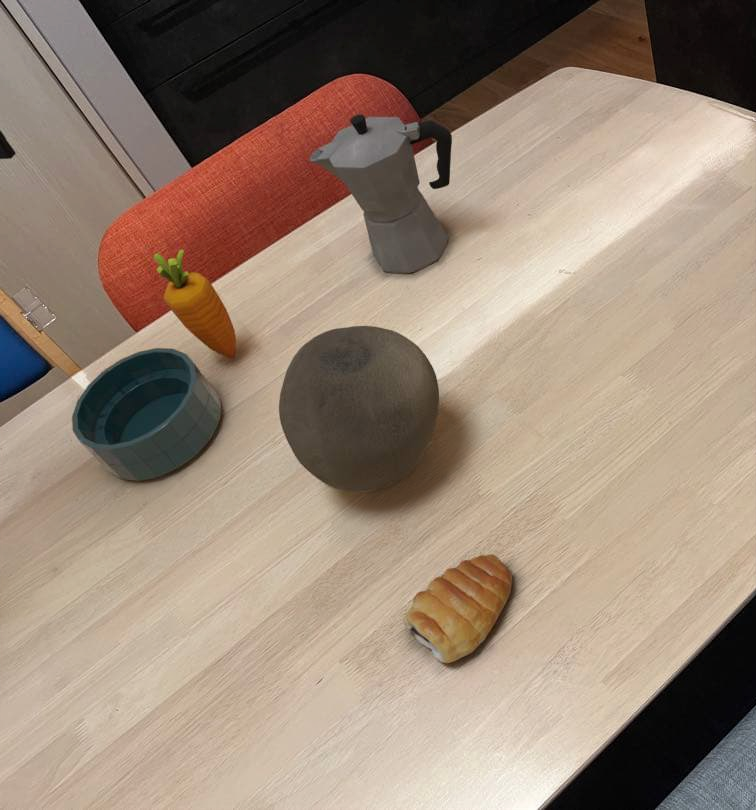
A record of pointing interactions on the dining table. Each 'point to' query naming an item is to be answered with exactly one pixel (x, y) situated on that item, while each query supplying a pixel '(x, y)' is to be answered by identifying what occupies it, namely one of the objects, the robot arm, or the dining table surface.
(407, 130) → the coffeepot
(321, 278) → the dining table surface
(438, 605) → the pastry
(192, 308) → the carrot
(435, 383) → the brown coconut
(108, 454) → the bowl
